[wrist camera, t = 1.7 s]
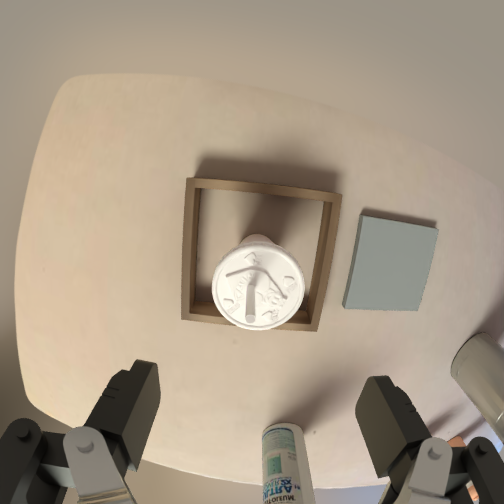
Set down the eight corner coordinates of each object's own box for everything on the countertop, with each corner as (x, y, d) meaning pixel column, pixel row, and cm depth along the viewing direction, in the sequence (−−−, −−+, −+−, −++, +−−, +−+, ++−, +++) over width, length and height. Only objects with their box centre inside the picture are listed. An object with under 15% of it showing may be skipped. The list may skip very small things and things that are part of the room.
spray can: (278, 449, 37) (285, 554, 18) (252, 433, 36) (251, 549, 16) (311, 433, 36) (331, 543, 17) (287, 416, 34) (301, 541, 15)
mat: (433, 227, 27) (438, 229, 26) (413, 307, 30) (417, 310, 29) (359, 214, 27) (363, 216, 26) (342, 304, 30) (344, 308, 29)
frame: (333, 192, 26) (342, 194, 24) (311, 317, 30) (316, 331, 27) (193, 177, 26) (186, 177, 23) (187, 306, 30) (181, 319, 27)
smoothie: (241, 209, 27) (229, 244, 13) (300, 237, 28) (341, 296, 14) (214, 266, 28) (183, 343, 15) (270, 291, 29) (283, 382, 16)
